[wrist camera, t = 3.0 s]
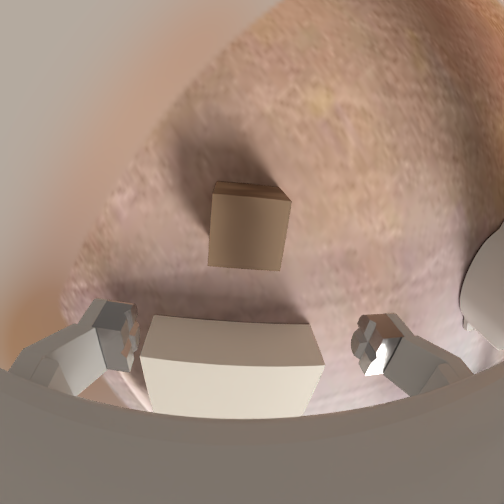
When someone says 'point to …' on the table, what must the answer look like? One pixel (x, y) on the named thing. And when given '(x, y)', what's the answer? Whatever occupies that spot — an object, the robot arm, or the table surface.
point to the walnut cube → (248, 226)
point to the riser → (230, 368)
